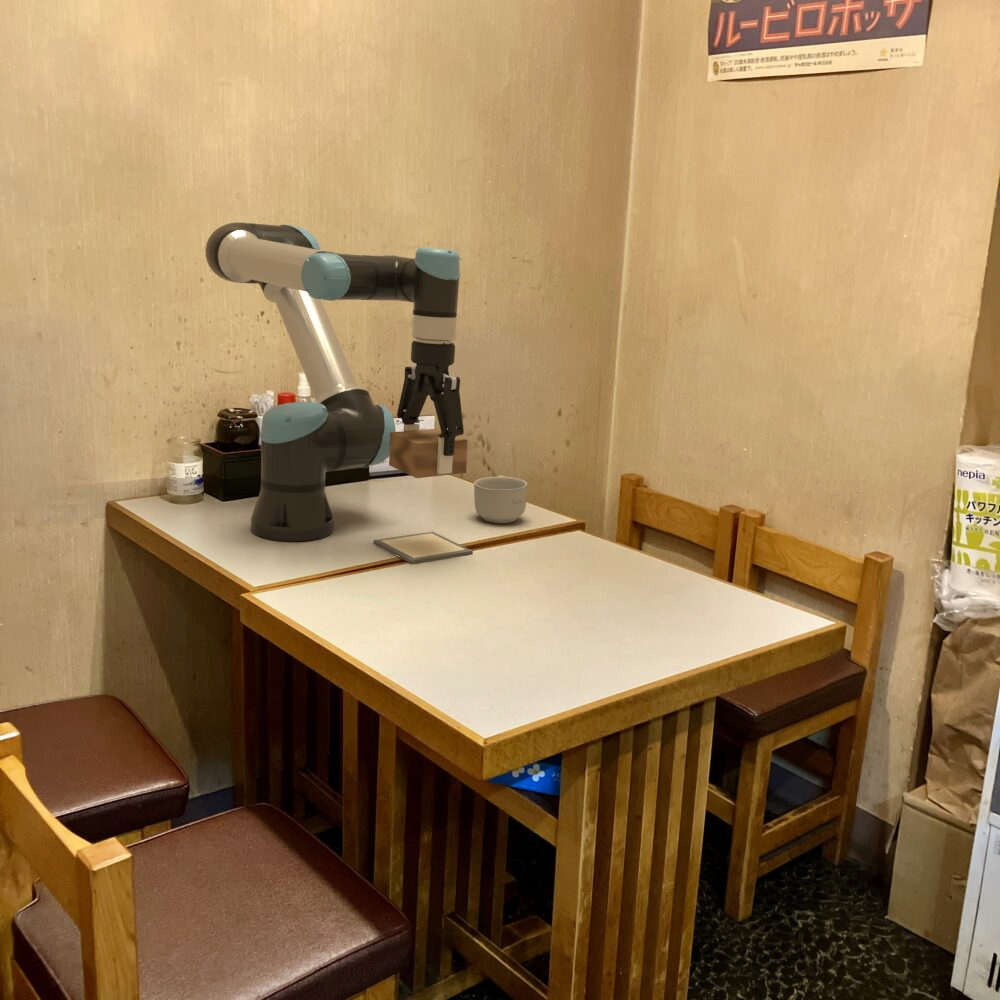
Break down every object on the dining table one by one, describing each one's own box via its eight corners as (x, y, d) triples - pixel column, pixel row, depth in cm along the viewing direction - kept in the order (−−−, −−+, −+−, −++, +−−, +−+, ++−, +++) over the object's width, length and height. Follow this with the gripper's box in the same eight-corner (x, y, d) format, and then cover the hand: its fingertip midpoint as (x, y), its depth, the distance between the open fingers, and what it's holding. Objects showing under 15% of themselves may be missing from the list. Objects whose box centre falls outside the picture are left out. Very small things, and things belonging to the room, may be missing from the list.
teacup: (519, 529, 197) (522, 490, 195) (466, 523, 199) (468, 484, 197) (531, 512, 211) (534, 475, 209) (481, 506, 213) (483, 469, 211)
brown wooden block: (389, 465, 179) (389, 432, 177) (437, 460, 184) (438, 428, 182) (416, 478, 171) (417, 444, 169) (466, 472, 176) (467, 439, 175)
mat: (373, 543, 182) (373, 539, 182) (432, 534, 190) (432, 531, 190) (411, 564, 172) (411, 560, 172) (472, 554, 180) (472, 550, 180)
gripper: (490, 348, 165) (481, 479, 171) (416, 333, 182) (410, 451, 188) (453, 349, 161) (445, 482, 166) (380, 333, 178) (375, 454, 184)
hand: (426, 466), depth 177 cm, fingers closed on brown wooden block, 10 cm apart
